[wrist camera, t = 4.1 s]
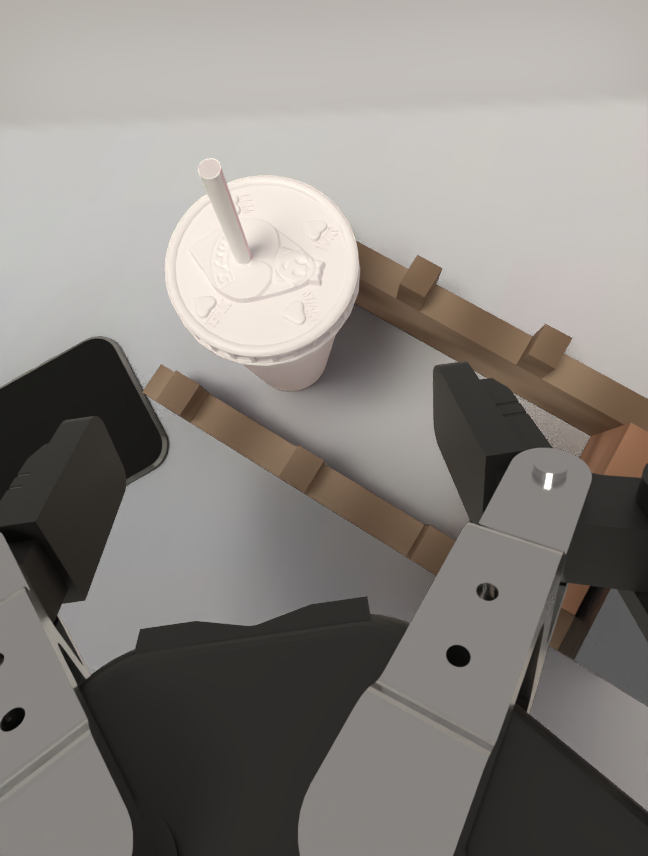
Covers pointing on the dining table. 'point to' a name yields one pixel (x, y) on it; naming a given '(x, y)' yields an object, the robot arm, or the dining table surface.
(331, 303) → the smoothie
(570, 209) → the dining table surface
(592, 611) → the block
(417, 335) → the brown pegged rack
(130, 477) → the smartphone
